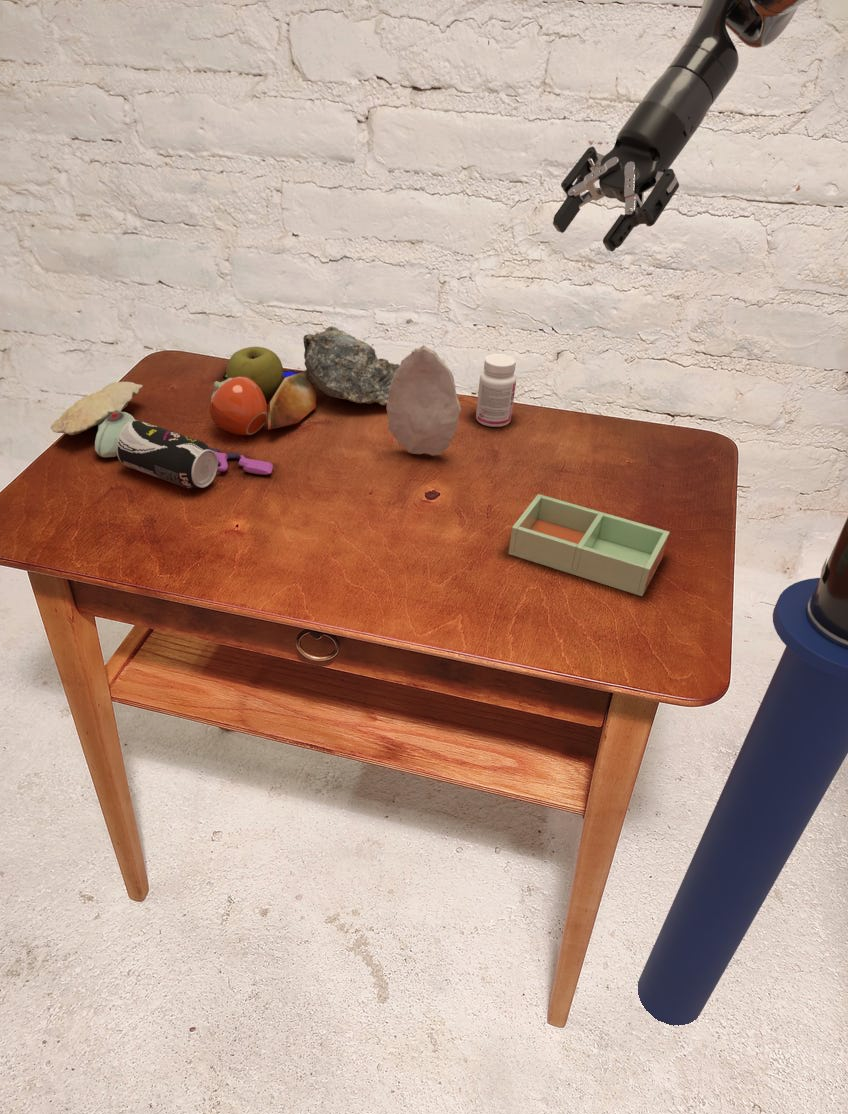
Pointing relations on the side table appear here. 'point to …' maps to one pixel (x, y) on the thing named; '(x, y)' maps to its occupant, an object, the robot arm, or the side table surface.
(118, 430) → the robot head
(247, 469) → the pink plastic clamp
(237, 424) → the tomato
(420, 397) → the stone tool
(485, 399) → the pill bottle
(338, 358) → the rock
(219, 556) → the side table surface
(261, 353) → the apple
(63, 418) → the stone tool
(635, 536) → the divided tray
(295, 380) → the decorative stone
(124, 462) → the beverage can
